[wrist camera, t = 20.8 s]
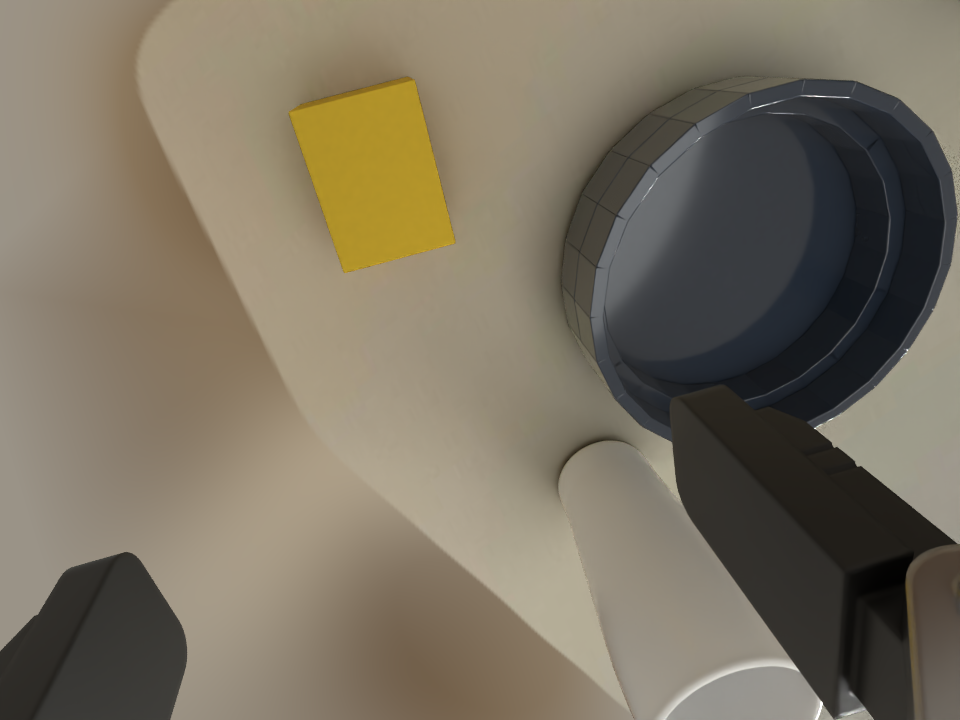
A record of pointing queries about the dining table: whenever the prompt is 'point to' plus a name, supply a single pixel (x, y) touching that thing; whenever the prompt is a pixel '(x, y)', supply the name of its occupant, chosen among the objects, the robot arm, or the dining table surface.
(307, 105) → the sponge
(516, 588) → the dining table surface
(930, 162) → the bowl
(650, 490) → the drinking glass
